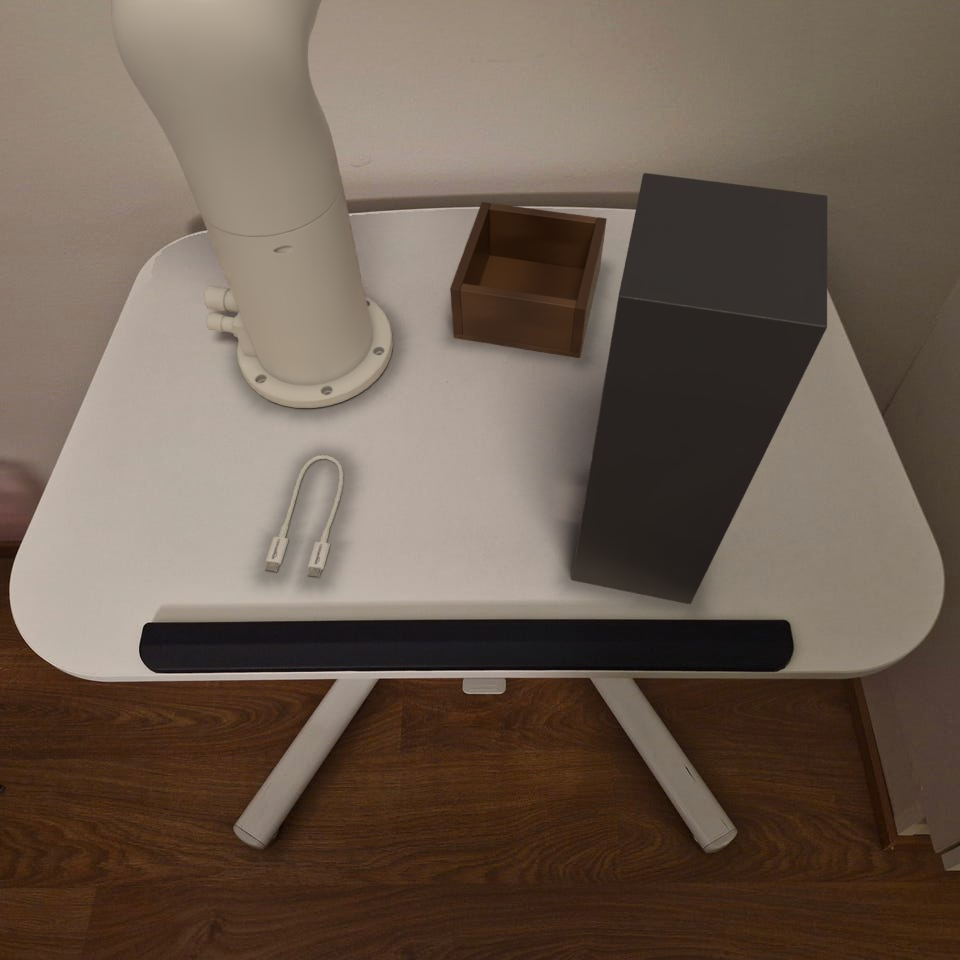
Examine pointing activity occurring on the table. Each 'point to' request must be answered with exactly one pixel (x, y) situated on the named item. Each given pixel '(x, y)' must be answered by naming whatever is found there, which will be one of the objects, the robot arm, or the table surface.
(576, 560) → the stand
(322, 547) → the electronic cable
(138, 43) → the robot arm
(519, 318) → the crate
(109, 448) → the table surface
